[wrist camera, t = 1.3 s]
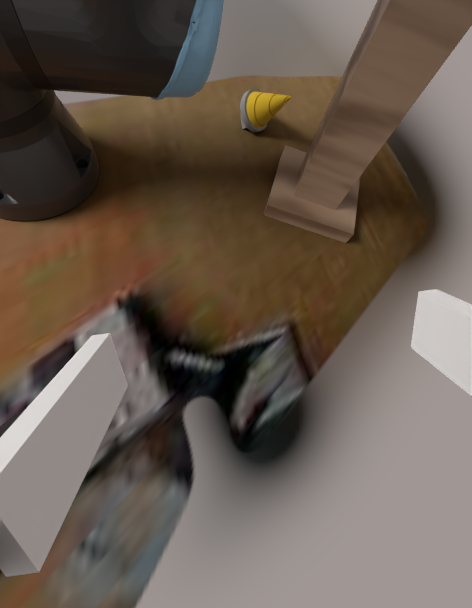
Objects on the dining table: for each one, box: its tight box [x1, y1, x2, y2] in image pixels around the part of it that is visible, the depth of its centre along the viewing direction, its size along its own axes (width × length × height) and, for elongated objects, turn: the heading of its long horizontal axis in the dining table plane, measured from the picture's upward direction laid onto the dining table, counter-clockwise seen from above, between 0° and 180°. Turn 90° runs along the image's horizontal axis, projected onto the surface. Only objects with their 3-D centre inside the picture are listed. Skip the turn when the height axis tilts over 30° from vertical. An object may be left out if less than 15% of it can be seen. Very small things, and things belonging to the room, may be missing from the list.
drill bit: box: [240, 88, 291, 132], centre depth 40 cm, size 5×5×10 cm
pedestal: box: [264, 0, 472, 243], centre depth 26 cm, size 12×12×30 cm
